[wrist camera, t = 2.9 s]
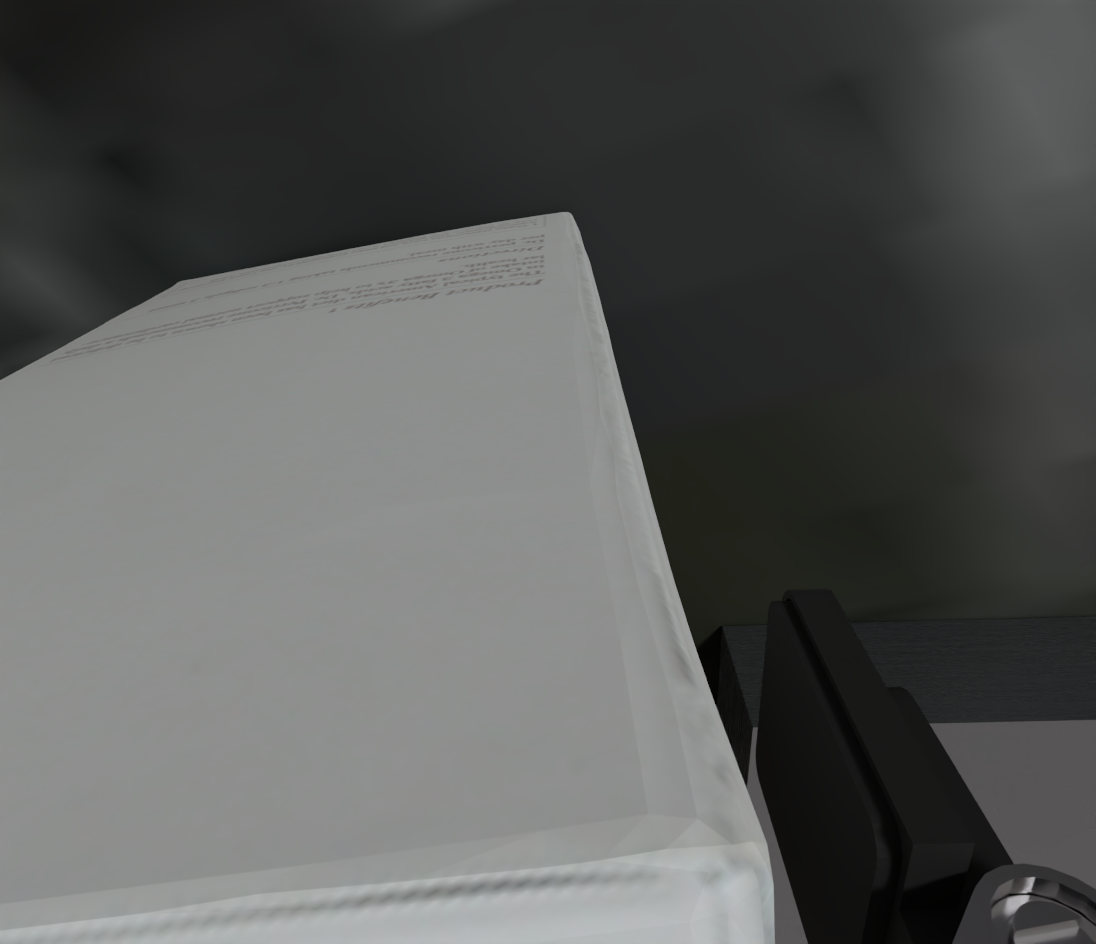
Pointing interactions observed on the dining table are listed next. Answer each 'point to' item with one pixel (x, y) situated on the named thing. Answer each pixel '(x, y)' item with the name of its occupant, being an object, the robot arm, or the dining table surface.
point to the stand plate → (965, 728)
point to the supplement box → (355, 622)
